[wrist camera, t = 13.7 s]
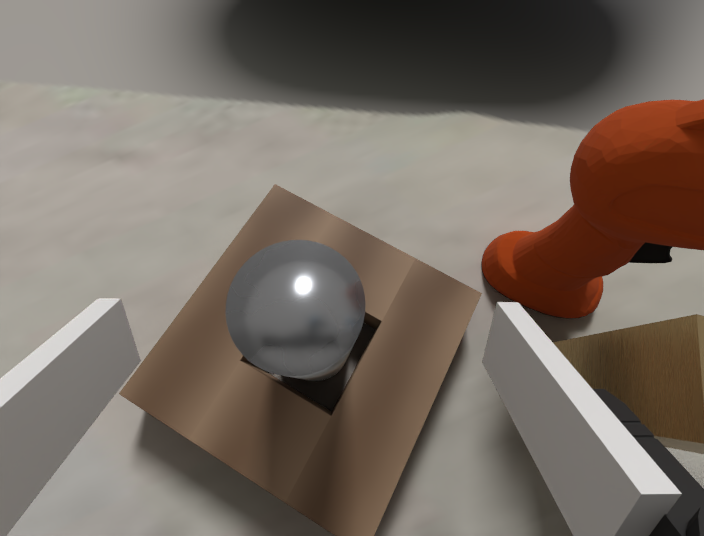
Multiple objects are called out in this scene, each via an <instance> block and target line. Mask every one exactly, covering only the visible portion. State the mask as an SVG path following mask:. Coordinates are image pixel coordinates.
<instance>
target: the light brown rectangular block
mask: <svg viewBox="0 0 704 536" xmlns="http://www.w3.org/2000/svg"><path fill="white" fill-rule="evenodd" d="M553 344H554V345H555V346H556V347H557V348H558V349H559V351H560V352H561V353H562V354H563V355H564V356H565V358H566V359H567V360H568V361H569V362H570V364H571V365H572V366H573V367H574V368H575V369H576V371H577V372H578V373H579V374H580V375H581V376H582V378H583V379H584V380H585V381H586V382H587V383H588V385H589V386H590V387H591V388H592V389H605V390H607V391H608V392H609V393H611V394H612V395H614V396H615V397H616V398H618V399H619V400H621V401H622V402H624V403H625V404H626V405H627V406H628V407H629V409H630V410H631V411H632V412H633V413H634V414H635V415H636V416H637V417H638V418H639V419H640V420H641V424H644V425H645V426H646V427H647V428H648V429H649V430H650V431H651V432H652V433H653V435H654V438H655V439H658V440H659V441H660V442H661V443H662V444H663V445H664V447H669V448H674V449H679V450H684V451H690V452H695V453H700V454H704V316H701V315H697V314H696V315H691V316H686V317H681V318H676V319H671V320H666V321H660V322H655V323H650V324H645V325H640V326H635V327H630V328H625V329H619V330H614V331H609V332H604V333H599V334H594V335H589V336H584V337H578V338H573V339H568V340H563V341H558V342H553Z"/></svg>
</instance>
